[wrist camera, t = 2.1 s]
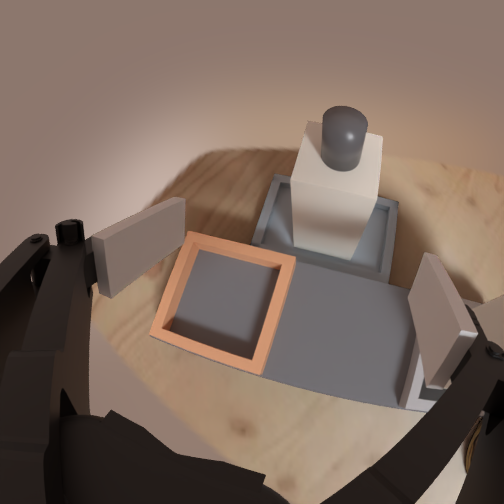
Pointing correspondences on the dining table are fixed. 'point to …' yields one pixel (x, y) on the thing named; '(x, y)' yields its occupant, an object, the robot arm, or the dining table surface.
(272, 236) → the tray
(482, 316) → the twin plug
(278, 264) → the grey base
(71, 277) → the robot arm
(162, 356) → the dining table surface
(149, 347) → the dining table surface
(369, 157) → the bottle
